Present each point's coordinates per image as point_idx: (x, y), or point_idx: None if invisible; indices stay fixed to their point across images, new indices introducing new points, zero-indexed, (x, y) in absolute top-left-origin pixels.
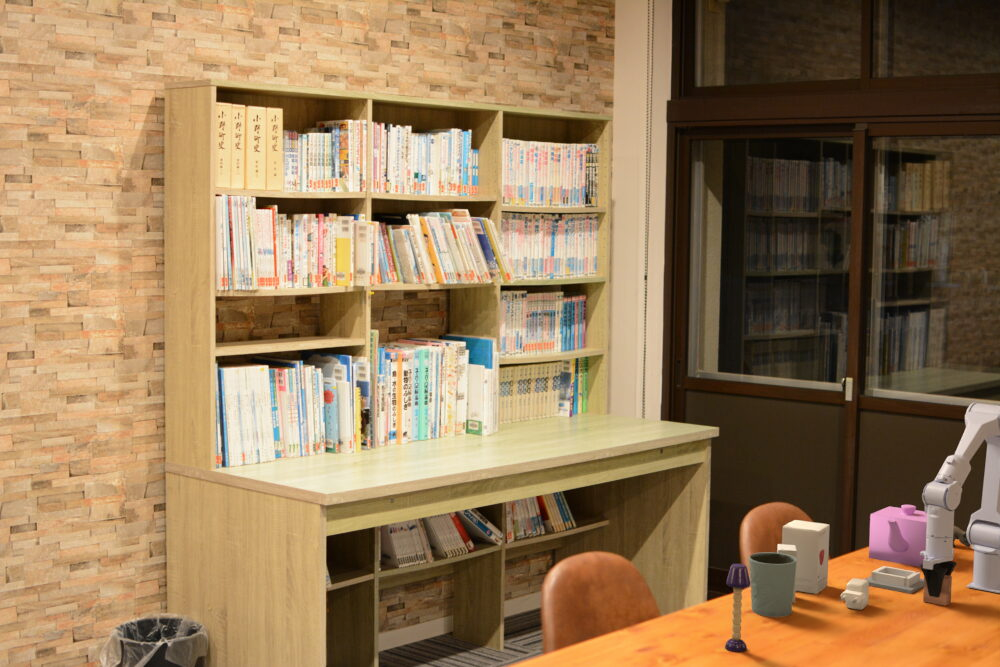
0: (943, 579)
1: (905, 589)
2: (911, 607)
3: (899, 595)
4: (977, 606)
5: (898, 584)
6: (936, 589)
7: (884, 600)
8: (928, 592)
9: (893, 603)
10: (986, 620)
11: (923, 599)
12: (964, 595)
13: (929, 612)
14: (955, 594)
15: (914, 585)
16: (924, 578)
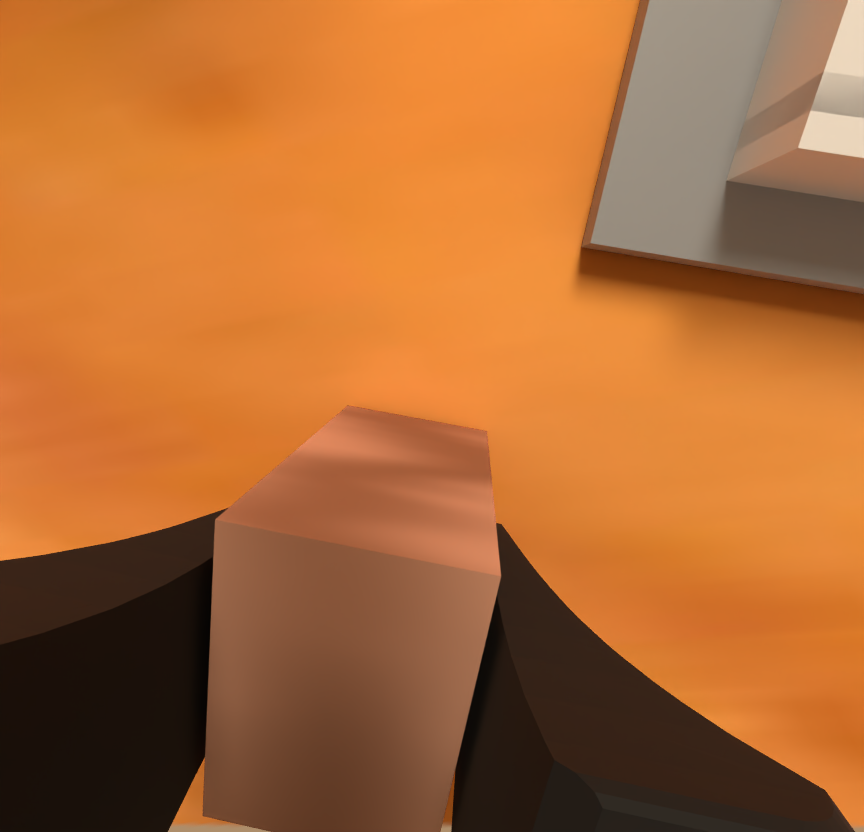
0: (208, 774)
1: (604, 171)
2: (127, 343)
3: (457, 147)
4: None
5: (779, 30)
6: None
7: (175, 46)
8: None
9: (136, 164)
10: None
11: (343, 411)
12: (760, 668)
13: (95, 490)
14: (762, 606)
15: (843, 231)
16: (240, 501)
